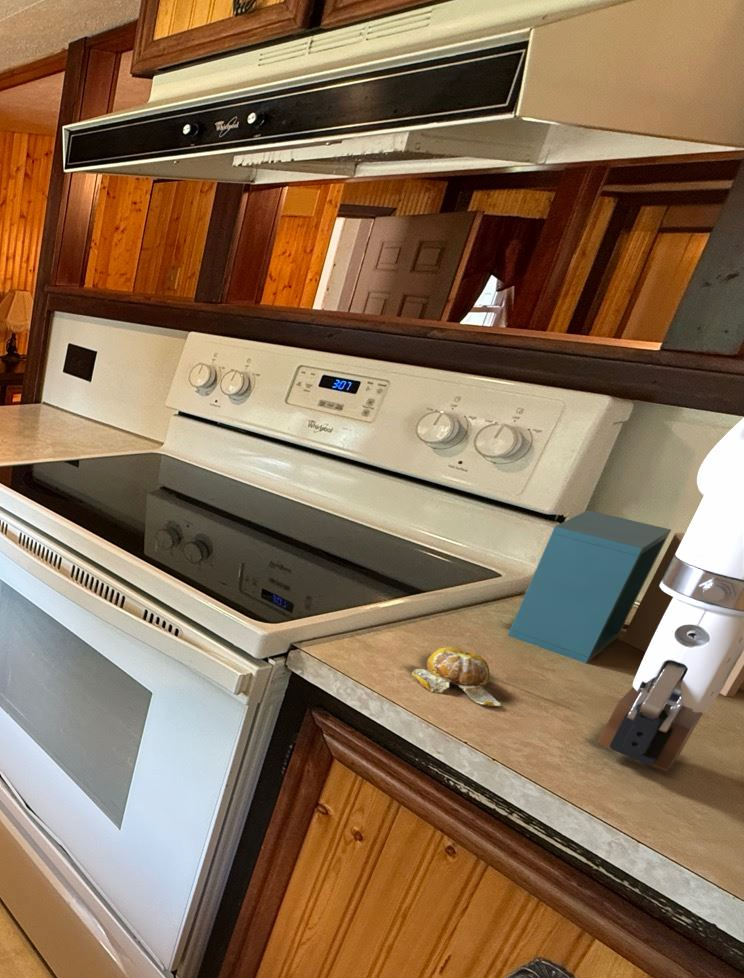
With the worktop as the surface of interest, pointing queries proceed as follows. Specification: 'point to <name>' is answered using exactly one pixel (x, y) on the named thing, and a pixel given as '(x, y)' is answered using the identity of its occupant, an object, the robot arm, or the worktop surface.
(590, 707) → the worktop surface
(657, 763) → the block
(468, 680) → the fruit
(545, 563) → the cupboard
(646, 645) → the tan rectangular box
